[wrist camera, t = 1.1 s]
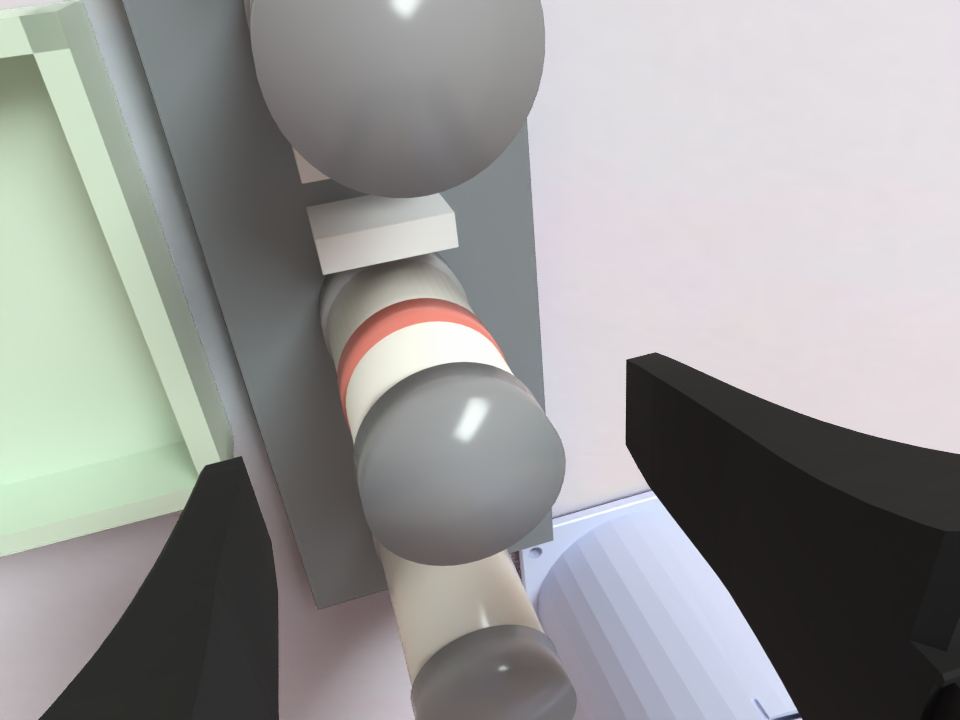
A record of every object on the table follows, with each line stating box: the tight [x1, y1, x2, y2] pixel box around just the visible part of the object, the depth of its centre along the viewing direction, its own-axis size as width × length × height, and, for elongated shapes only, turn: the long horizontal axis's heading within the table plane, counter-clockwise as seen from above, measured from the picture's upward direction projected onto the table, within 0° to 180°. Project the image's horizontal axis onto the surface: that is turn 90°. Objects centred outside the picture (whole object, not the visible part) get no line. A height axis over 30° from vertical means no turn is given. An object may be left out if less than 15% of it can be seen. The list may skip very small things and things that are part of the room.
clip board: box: [122, 0, 554, 610], centre depth 18 cm, size 20×8×3 cm, turn 6°
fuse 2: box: [371, 531, 577, 720], centre depth 19 cm, size 4×4×8 cm
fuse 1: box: [244, 0, 545, 198], centre depth 12 cm, size 4×4×8 cm
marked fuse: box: [318, 252, 566, 566], centre depth 16 cm, size 4×4×8 cm
